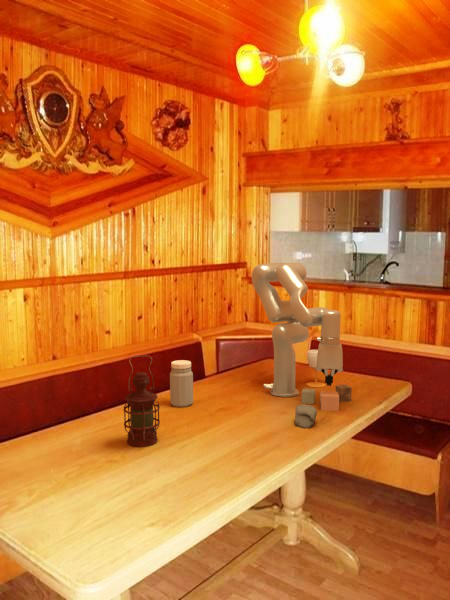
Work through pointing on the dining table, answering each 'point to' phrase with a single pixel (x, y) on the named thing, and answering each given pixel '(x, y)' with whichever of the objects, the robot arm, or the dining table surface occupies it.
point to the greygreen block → (308, 396)
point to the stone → (305, 416)
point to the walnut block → (344, 392)
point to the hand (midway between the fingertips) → (328, 384)
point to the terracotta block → (329, 401)
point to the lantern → (141, 411)
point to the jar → (181, 383)
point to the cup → (313, 367)
